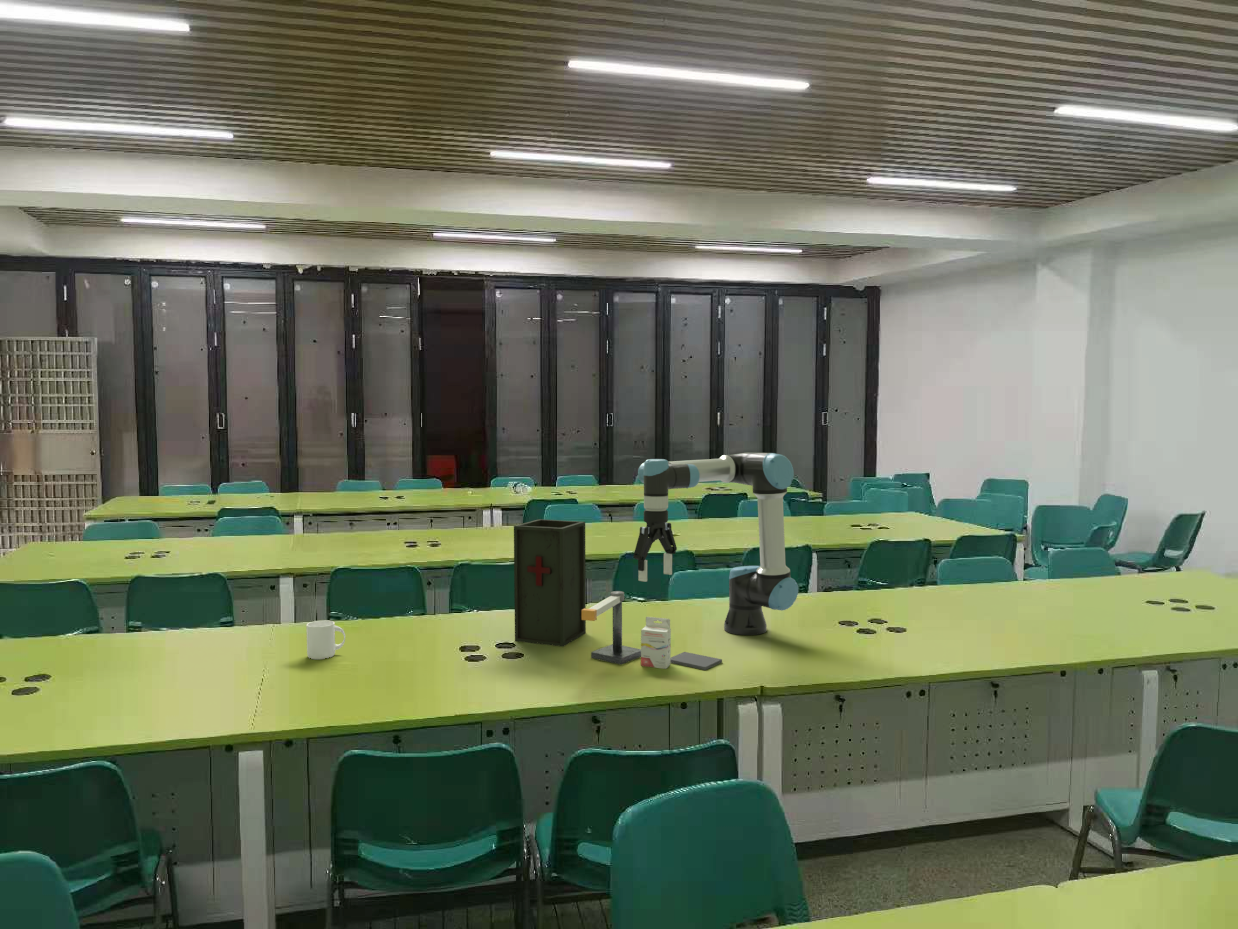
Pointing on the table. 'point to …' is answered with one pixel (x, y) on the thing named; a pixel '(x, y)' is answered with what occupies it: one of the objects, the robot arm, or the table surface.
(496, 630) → the table surface
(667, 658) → the ink cartridge box
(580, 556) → the first aid box
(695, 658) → the rubber mat
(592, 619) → the bar
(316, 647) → the mug
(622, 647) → the arm post
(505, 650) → the table surface
